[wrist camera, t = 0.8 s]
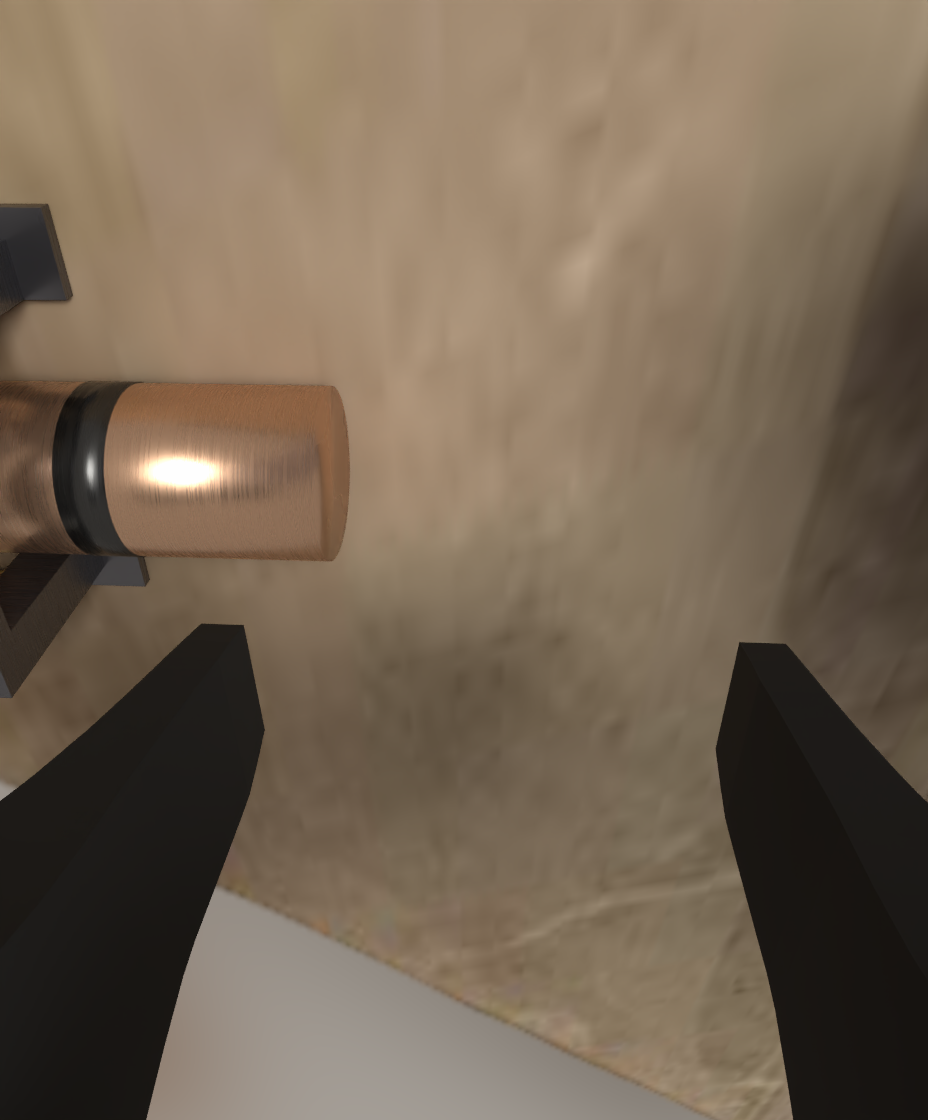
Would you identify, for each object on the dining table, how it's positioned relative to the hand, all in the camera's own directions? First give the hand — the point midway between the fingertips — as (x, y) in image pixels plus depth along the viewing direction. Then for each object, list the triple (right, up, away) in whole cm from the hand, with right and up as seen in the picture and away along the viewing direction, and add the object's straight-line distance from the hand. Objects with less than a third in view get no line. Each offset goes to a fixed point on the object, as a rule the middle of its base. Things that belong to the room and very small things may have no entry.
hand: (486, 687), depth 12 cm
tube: (-7, +5, +7) cm, 12 cm away
